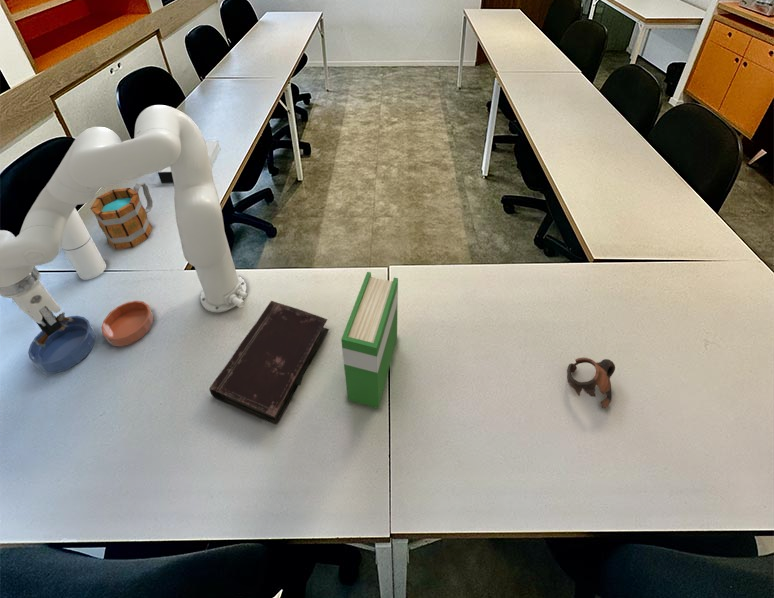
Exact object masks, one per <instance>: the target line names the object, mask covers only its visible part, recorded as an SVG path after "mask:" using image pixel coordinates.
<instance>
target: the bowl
mask: <svg viewBox="0 0 774 598" xmlns="http://www.w3.org/2000/svg"><path fill="white" fill-rule="evenodd" d="M66 317H67V318H68V317H69V318H71V319H73V322H71V321H63V322H60V323H61V325H62V324H64V323H65V322H68V323H67V327H65V329H64V330H62V331H61V332H59V329H58V330H57V331H55V332H54V333H53V334H51V335H50V336H49V337H48V338H47V340H46V341H45V343H44V344H45V347H44V346H40V345H37V344H36V343H35V341H38V340H39V339H40V338H41V337H42V336H43V335H44V334H45V332H43V331H42V330H41V331H40V332H39V333H38V334H37V335H36V336H35V337H34V338H33V340H32V341H31V343H30V344H29V348H28V352H27V354H28V358H29V360H30V361H31V363H33V365H34V366H35V367H36V368H37V369H38V370H39V372H41V373H46V374H56V373H60V372H63V371H65V370H68V369H70V368H72V367H73V366H75V365H77V364H78V363H79V362H81V361H82V360H83V359H84V358H85V357H86V356H87V355H88V354H89V353H90V352H91V351H92V349H93V347H94V345H95V343H96V340H97V334H96V330H95V329H94V327H93V325H92V323H91V322H90V320H88V319H87V318H86V317H85V316H81V315H71V316H66ZM62 320H63V319H62Z"/></svg>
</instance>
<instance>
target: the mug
mask: <svg viewBox="0 0 774 598" xmlns="http://www.w3.org/2000/svg"><path fill="white" fill-rule="evenodd" d="M140 188H142V191H143V195H144V197H145V200H146V204H147V205H146V207H144V205H143V203H142V201H141V199H140V198H141V197H140V194H139V192H140ZM152 208H153V198H152V195H151V193H150V189H149V186H148V185H147V184H146V183H145V182H144V181H140V182H137V183H135V184H134V186H133V189H132V187H124V188H117V189H112V190H109V191H107V192H105V193H104V194H101V195H100V196H98V197H96V198H95V200H94V202H93V203H92V205H91V206H90V208H89V209H90V211H92V213H93V214H94V216H95V217H96V220H97V223H98V226H99V228H100V229H101V230H102V233H103V234H104V236H105V238H106V242H107V244H108V245H110V246H111V247H112V248H113V249H114V250H124V249H132V248H135V247H136V246H138V245H140V244H141V243H143V242H144V241H146V240H147V239H149V238H150V234H151V232H152V230H153V226H152V224H151V223H150V221H149V218H148V215H147V214H148V213H150V212H151V210H152Z"/></svg>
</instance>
